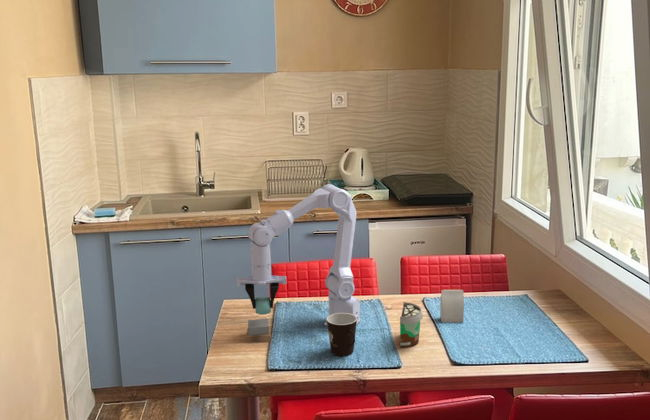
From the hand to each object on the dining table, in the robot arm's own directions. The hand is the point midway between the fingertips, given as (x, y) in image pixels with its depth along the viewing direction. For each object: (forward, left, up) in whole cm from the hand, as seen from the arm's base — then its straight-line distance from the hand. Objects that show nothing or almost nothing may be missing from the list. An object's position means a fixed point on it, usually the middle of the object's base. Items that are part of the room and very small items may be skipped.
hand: (262, 307), depth 193 cm
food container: (-42, -13, -10) cm, 45 cm away
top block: (+1, +1, -8) cm, 8 cm away
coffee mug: (-26, +2, -10) cm, 28 cm away
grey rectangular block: (-49, -33, -10) cm, 60 cm away
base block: (+1, +1, -10) cm, 10 cm away
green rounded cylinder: (0, 0, -1) cm, 1 cm away
